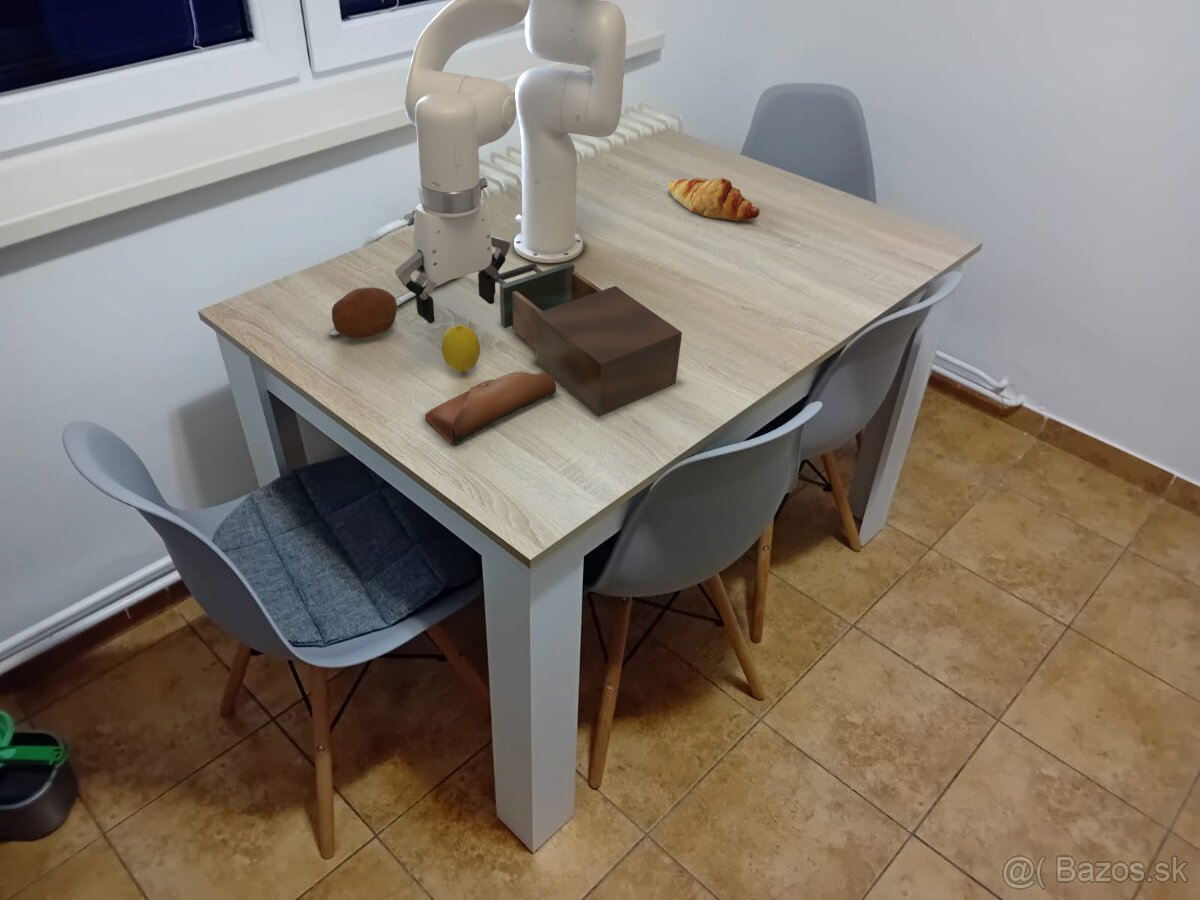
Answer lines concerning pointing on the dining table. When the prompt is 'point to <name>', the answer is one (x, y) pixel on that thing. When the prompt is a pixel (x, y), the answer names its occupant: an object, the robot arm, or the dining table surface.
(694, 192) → the croissant
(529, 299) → the drawer
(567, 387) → the cabinet
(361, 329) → the potato
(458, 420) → the sunglasses case
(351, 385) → the dining table surface
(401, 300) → the butter knife
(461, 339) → the lemon
